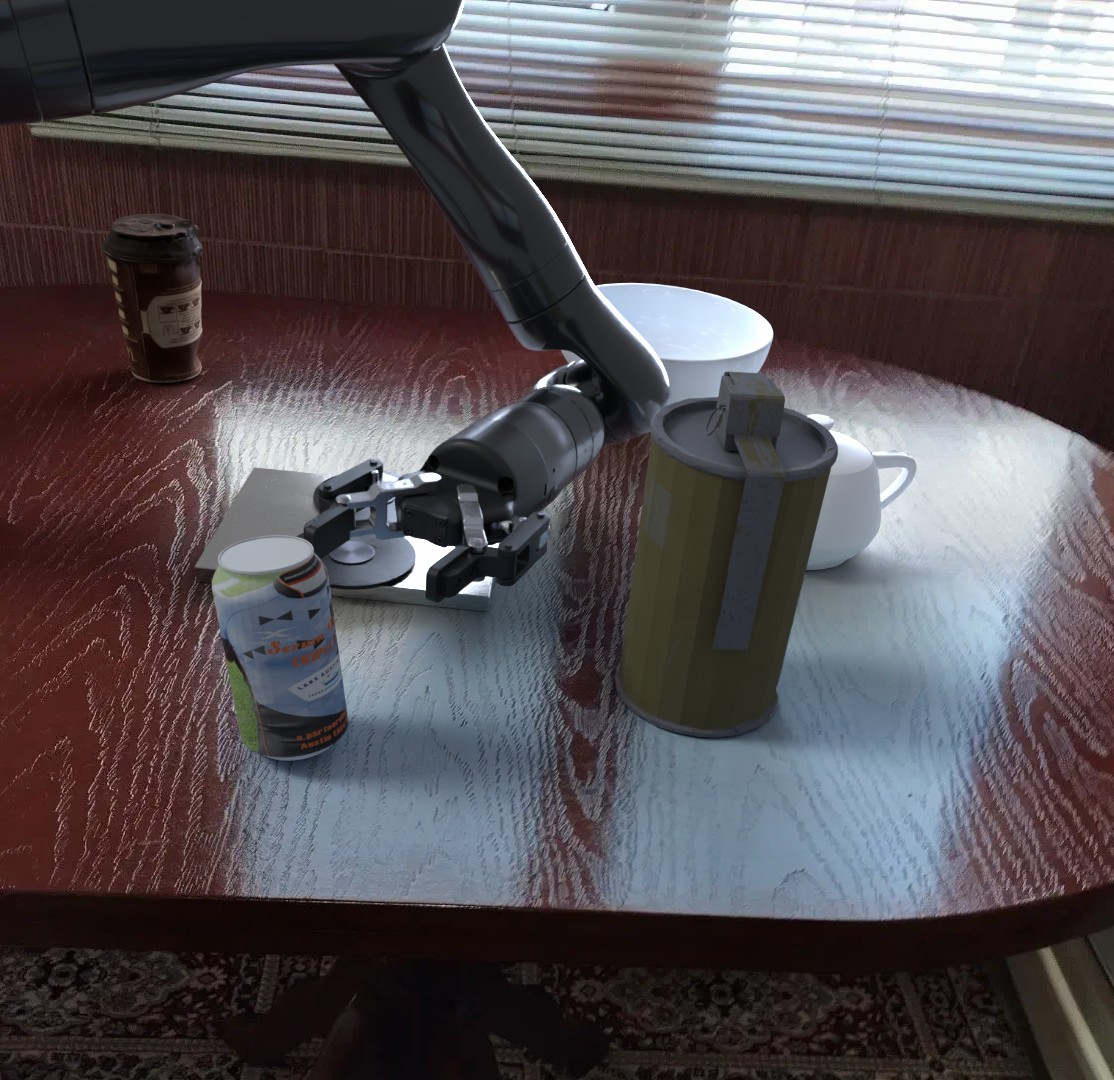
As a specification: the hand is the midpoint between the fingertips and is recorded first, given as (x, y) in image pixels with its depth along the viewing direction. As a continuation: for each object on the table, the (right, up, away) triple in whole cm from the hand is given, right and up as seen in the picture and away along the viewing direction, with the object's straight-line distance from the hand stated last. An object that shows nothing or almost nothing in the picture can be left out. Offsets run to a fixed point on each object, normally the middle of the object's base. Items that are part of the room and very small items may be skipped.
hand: (369, 566), depth 71 cm
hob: (-3, +4, +17) cm, 18 cm away
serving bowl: (+21, +24, +47) cm, 57 cm away
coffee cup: (-25, +23, +40) cm, 52 cm away
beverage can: (-4, -10, -2) cm, 11 cm away
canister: (+20, -7, +6) cm, 22 cm away
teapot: (+29, +5, +23) cm, 38 cm away
